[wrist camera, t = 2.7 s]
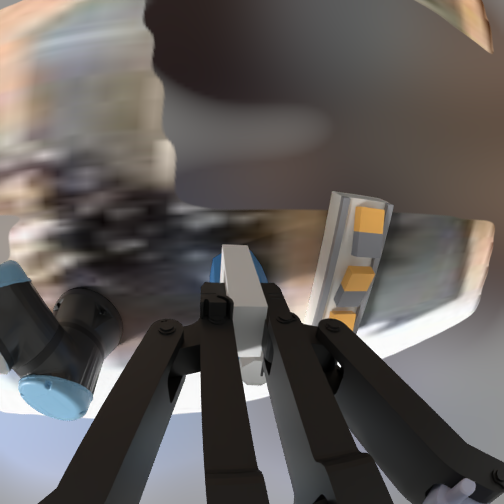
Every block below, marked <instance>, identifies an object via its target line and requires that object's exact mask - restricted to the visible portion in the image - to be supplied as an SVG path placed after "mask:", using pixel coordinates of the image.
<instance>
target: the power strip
mask: <svg viewBox="0 0 504 504" xmlns="http://www.w3.org/2000/svg"><path fill="white" fill-rule="evenodd" d="M356 207H368V208H375V209H382V210H385V214H384V226H383V236H382V245H381V254H380V258H367V257H355V256H352V255H351V251H352V241H353V231H354V220H355V208H356ZM393 207H394V205H392V204H391V203H389V202H386V201H384V200H382V199H380V198H375V197H370V196H363V195H357V194H351V193H343V192H337V191H332V194H331V199H330V205H329V210H328V216H327V221H326V226H325V231H324V236H323V241H322V246H321V250H320V255H319V260H318V264H317V269H316V273H315V278H314V282H313V287H312V291H311V295H310V299H309V303H308V308H307V312H306V316H305V320H304V324H307V325H312V326H318V323H319V322H320V321H321V320H323V319H326V318H329V315H330V311H353V312H354V313H355V314H356V317H355V323H354V328H353V332H354V333H355V334H356V333H357V330H358V328H359V325H360V322H361V319H362V316H363V313H364V310H365V307H366V304H367V301H368V298H369V295H370V292H371V289H372V286H373V282H374V279H375V276H376V272H377V269H378V266H379V262H380V259H381V255H382V251H383V248H384V244H385V240H386V236H387V232H388V228H389V224H390V220H391V216H392V211H393ZM348 266H369V267H372V269H373V271H374V273H375V276H374V278H373V280H372V282H371V284H370V286H369V288H368V290H367V292H366V293H365V295H364V297H363V299H362V301H361V303H360V305H359V307H336V304H335V302H334V297H335V295H336V292H337V290H338V288H339V286H340V284H341V281H342V279H343V277H344V275H345V272H346V270H347V268H348Z"/></svg>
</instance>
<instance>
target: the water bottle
mask: <svg viewBox="0 0 504 504" xmlns="http://www.w3.org/2000/svg"><path fill="white" fill-rule="evenodd" d="M249 251H250V250H249ZM250 254H251V257H252V260H253V263H254V266H255V269H256V272H257V275H258V278H259V281H260V283H268V281H267V279H266V276H265V274H264V271H263V268H262V266H261V264H260V263H259V262H258V260H257V259H256V257H255V256H254V254H253V253H252V251H250ZM221 257H222V253H221V254H219V255H218V256H216V257H215V258H213V262H212V267H211V272H210V282H214V283H220V274H221ZM238 358H239V364H240V370H241V376H242V381H243V382H244V383H246V384H247V385H263V384H265V383H267V382H266V378H265V374H264V372H263V376H260V373H261V367H262V361H263V351H262V349H261V356H260V357H238Z"/></svg>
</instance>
